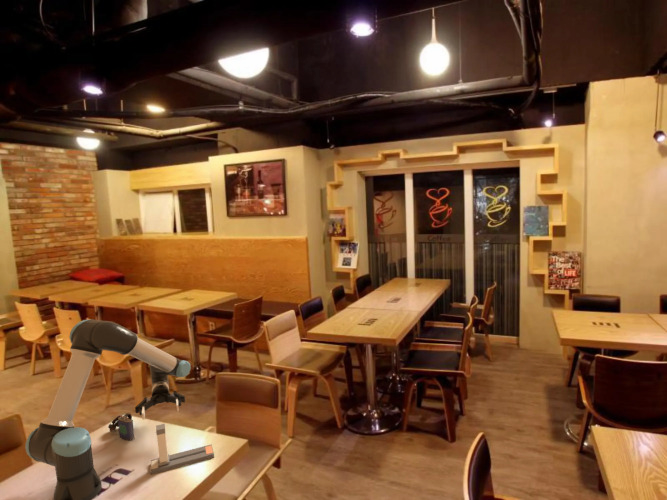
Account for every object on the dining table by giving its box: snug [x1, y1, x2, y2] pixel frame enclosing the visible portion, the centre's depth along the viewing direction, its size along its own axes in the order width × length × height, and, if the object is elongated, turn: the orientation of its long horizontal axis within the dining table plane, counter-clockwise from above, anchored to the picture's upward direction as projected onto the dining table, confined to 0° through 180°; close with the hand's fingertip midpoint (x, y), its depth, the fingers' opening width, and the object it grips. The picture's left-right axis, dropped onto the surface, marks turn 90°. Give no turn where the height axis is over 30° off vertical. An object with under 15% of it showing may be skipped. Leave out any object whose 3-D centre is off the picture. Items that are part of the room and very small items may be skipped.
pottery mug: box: [107, 412, 133, 433], centre depth 199 cm, size 12×9×8 cm
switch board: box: [150, 443, 215, 475], centre depth 171 cm, size 24×8×2 cm, turn 113°
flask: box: [118, 415, 135, 442], centre depth 191 cm, size 9×3×11 cm, turn 61°
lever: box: [155, 423, 170, 466], centre depth 168 cm, size 4×6×14 cm
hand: (160, 412), depth 176 cm, fingers open, 13 cm apart
